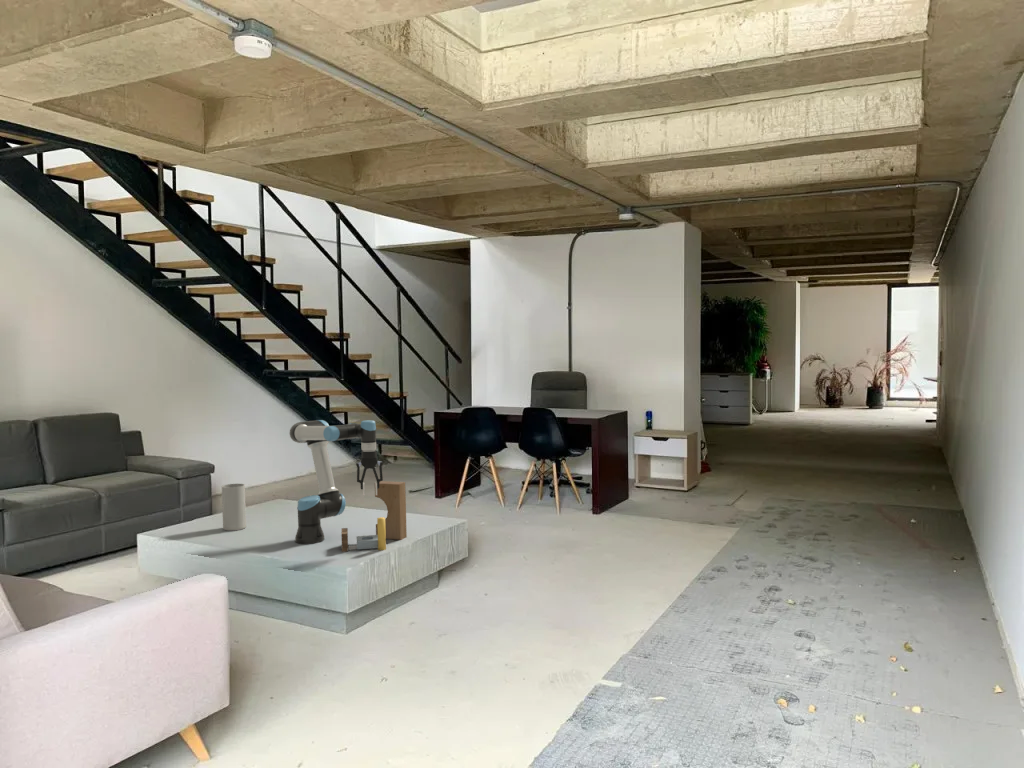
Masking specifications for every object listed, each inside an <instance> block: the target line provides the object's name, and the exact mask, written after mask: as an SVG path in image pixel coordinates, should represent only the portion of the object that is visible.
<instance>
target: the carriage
mask: <svg viewBox="0 0 1024 768" xmlns="http://www.w3.org/2000/svg"><path fill="white" fill-rule="evenodd" d="M356 545H357V550H368V549H369V550H370V549H371V550H372V549H378V535H376V534H370V535H357V536H356Z"/></svg>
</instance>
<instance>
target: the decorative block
mask: <svg viewBox="0 0 1024 768" xmlns="http://www.w3.org/2000/svg"><path fill="white" fill-rule="evenodd" d="M374 497H375V498H378V499H380V500H381V501H382V502H384V504H385V506H386V509H387V514H386V517H385V529H386V540H396V541H397V540H400V541H401V540H403V539H406V538H407V537H408V535H407V534H408V533H407V532H408V531H407V500H406V498H407V495H406V482H405V481H388V480H387V481H385V480H383V481H380V482H379V488H378V489H377V495H376V487H375V486H374ZM375 535H378V528H377V523H376V524H375Z"/></svg>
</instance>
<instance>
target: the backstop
mask: <svg viewBox="0 0 1024 768" xmlns="http://www.w3.org/2000/svg"><path fill="white" fill-rule="evenodd" d="M348 530H349V529H348V527H343V528H341V535H340V536H341V553H344V552H345V553H347V552H349V550H348V546H349V538H348V537H349V534H348Z"/></svg>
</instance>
